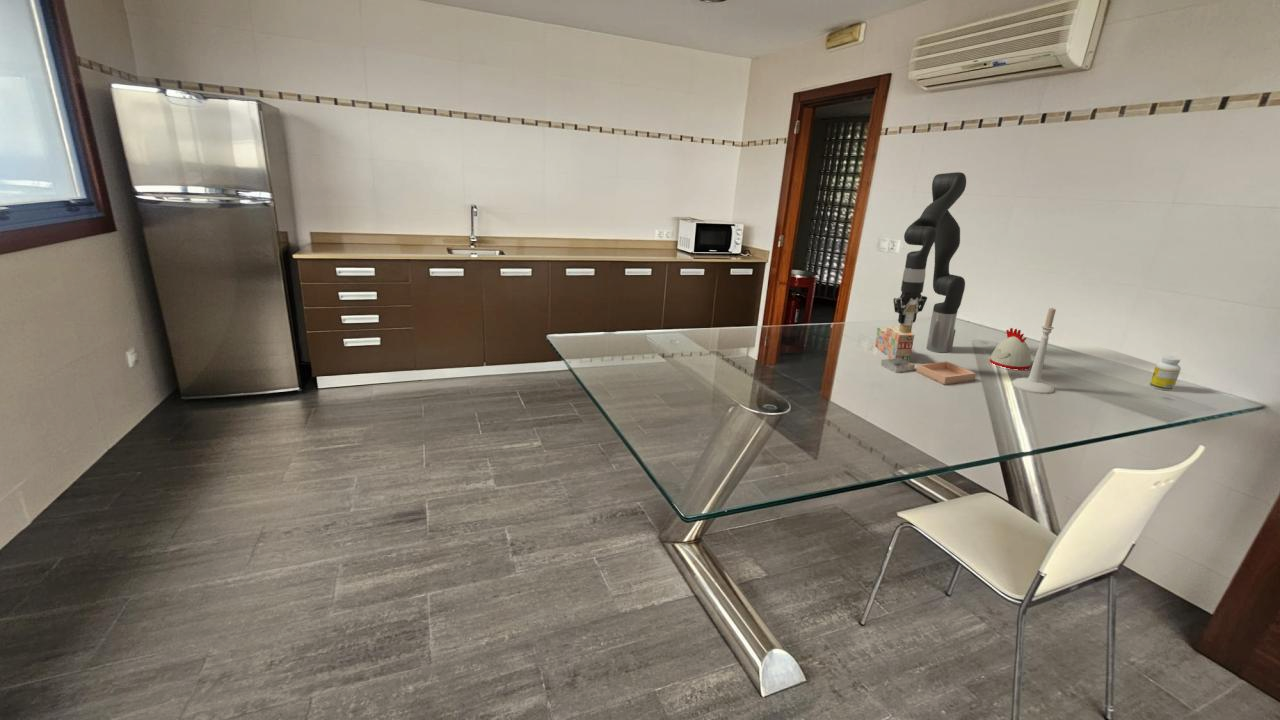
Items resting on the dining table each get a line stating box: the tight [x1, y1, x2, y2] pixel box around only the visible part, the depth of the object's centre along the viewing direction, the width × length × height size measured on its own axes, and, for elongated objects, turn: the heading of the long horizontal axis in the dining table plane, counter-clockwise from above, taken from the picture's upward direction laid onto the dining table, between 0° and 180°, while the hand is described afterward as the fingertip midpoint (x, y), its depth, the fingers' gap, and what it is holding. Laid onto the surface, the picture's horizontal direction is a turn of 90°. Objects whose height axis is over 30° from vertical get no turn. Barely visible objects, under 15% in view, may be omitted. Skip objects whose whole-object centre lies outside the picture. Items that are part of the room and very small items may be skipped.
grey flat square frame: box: [880, 358, 916, 374], centre depth 216 cm, size 9×9×2 cm
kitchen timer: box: [989, 327, 1032, 371], centre depth 216 cm, size 14×14×15 cm
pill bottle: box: [1149, 355, 1182, 391], centre depth 192 cm, size 6×6×12 cm
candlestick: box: [1011, 307, 1057, 395], centre depth 191 cm, size 13×13×30 cm
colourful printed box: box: [874, 325, 915, 363], centre depth 230 cm, size 21×6×12 cm, turn 179°
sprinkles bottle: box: [899, 299, 916, 333], centre depth 209 cm, size 5×5×14 cm
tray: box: [916, 360, 977, 386], centre depth 207 cm, size 14×14×3 cm
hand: (906, 322), depth 210 cm, fingers closed on sprinkles bottle, 4 cm apart
